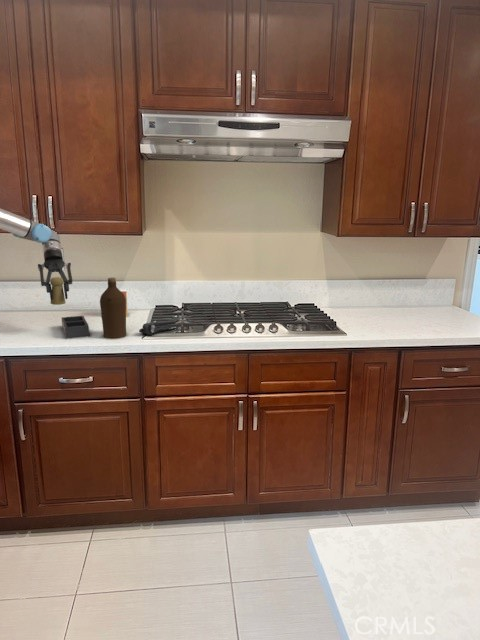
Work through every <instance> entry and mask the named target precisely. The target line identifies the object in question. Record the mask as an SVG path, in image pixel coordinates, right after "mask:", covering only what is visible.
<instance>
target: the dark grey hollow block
mask: <svg viewBox="0 0 480 640" xmlns="http://www.w3.org/2000/svg"><path fill="white" fill-rule="evenodd" d="M61 328H62V332H63V334H64V338H65V339H66V340H68V339H75V338H85V337H90V328H89V324H88V322H87V320H86V318H85V316H84V315H73V316H64V317H61Z"/></svg>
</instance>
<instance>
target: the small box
mask: <svg viewBox="0 0 480 640" xmlns="http://www.w3.org/2000/svg"><path fill="white" fill-rule="evenodd" d="M118 289H119V290H120V291H121V292H122V293H123V294H124V296H125V298H126V318H127V317H128V293H127V291H128V289H127V288H118Z"/></svg>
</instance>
